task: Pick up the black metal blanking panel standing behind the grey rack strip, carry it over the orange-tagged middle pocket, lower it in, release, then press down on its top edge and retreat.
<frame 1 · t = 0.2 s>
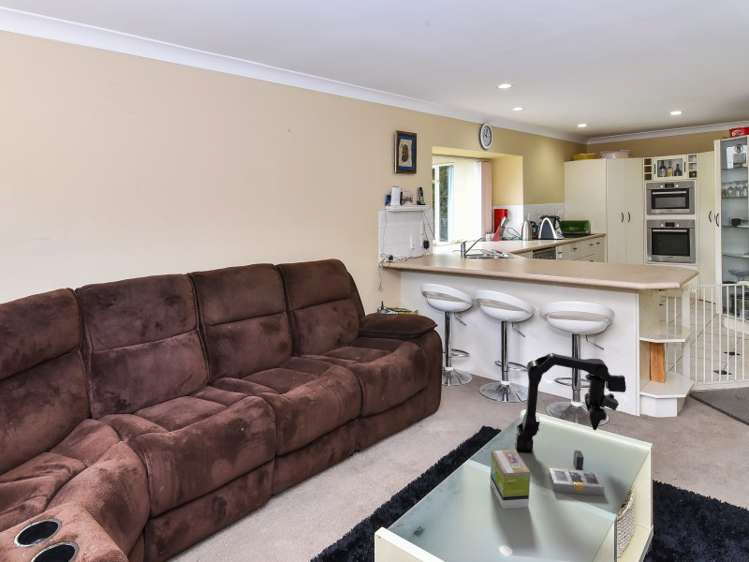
hand: (593, 424, 210), 14 cm above the table, fingers open, 9 cm apart
rack: (575, 485, 193), on the table
tea box: (508, 496, 187), on the table
panel: (577, 467, 205), on the table
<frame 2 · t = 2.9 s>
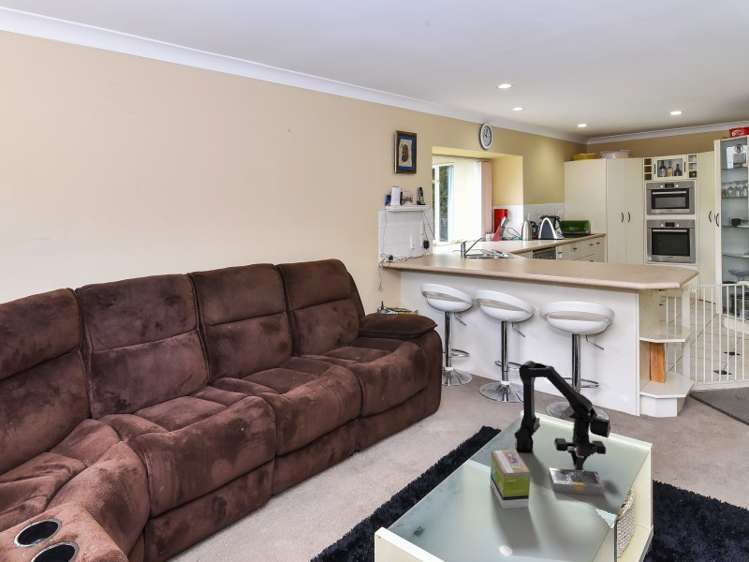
hand: (577, 464, 205), 1 cm above the table, fingers closed on panel, 2 cm apart
panel: (577, 467, 205), on the table, touching gripper
everything else where it was.
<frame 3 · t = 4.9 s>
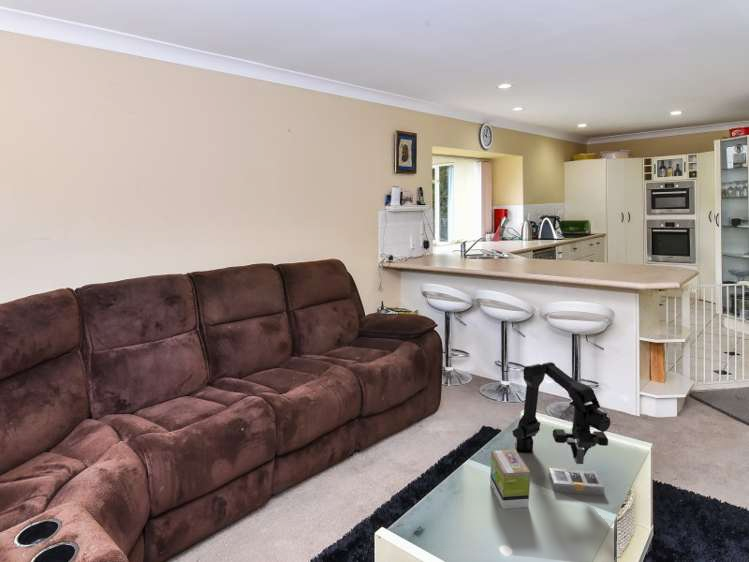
hand: (578, 457, 191), 12 cm above the table, fingers closed on panel, 2 cm apart
panel: (577, 460, 191), point 11 cm above the table, touching gripper
everything else where it was.
when the fingers open (4 cm above the table, at t = 6.9 s): panel drops 2 cm, resting on rack.
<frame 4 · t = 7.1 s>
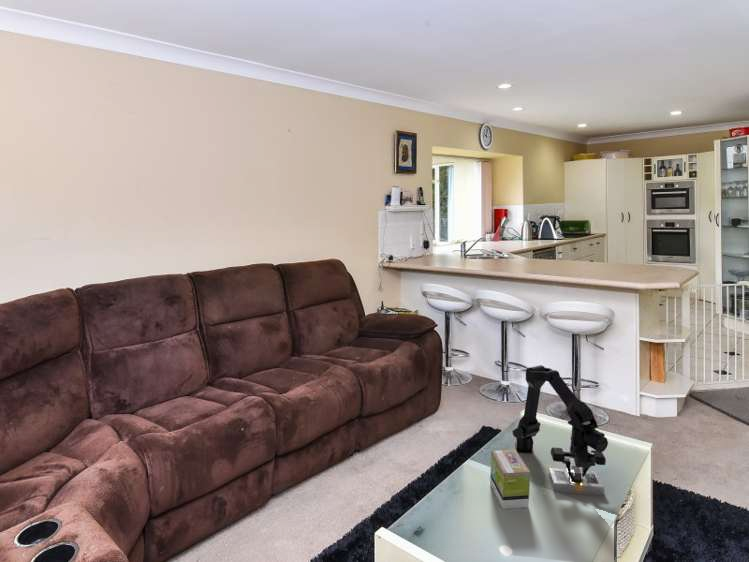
hand: (575, 476, 192), 4 cm above the table, fingers open, 5 cm apart
panel: (575, 483, 193), point 1 cm above the table, touching rack
everything else where it was.
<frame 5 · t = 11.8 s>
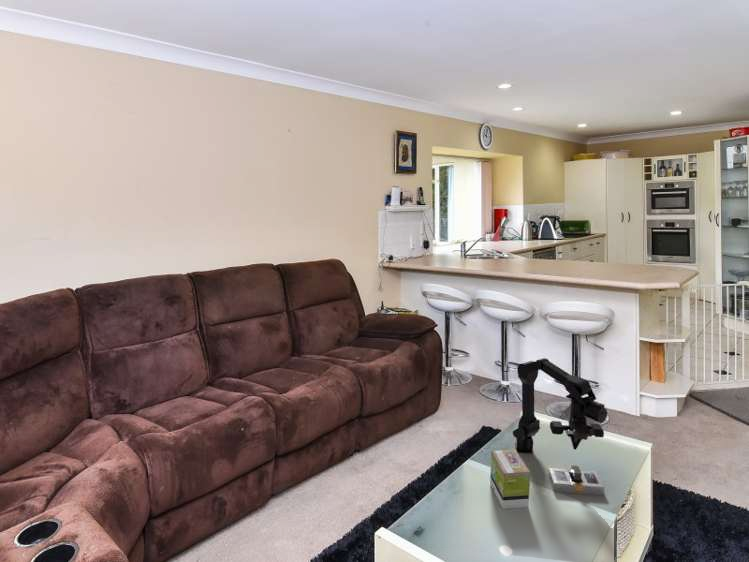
hand: (574, 449, 195), 12 cm above the table, fingers closed
nothing on the table moved.
at the end: panel 0.0 cm off-centre on the rack, point 0.8 cm above the rack's base; panel tilted 0°; the gripper is holding nothing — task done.
